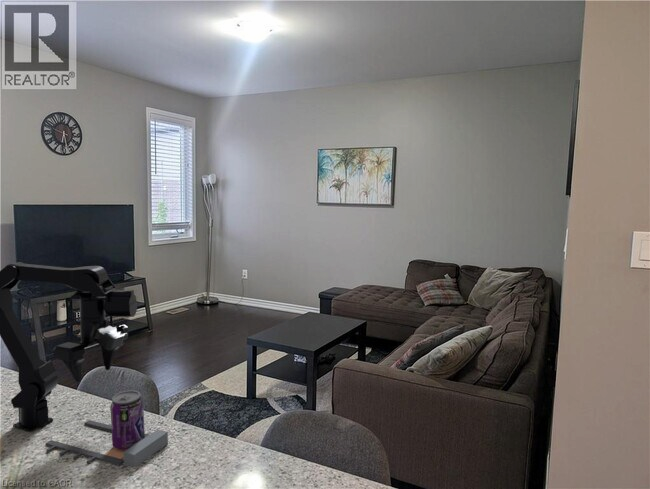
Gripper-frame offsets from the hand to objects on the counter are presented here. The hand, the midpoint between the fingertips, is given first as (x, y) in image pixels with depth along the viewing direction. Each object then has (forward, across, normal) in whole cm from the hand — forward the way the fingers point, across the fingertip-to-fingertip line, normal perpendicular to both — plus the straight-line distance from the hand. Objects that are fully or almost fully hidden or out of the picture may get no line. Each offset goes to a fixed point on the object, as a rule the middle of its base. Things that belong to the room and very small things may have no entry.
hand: (93, 375), depth 118 cm
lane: (+13, -7, -11) cm, 18 cm away
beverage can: (+13, -5, -16) cm, 21 cm away
